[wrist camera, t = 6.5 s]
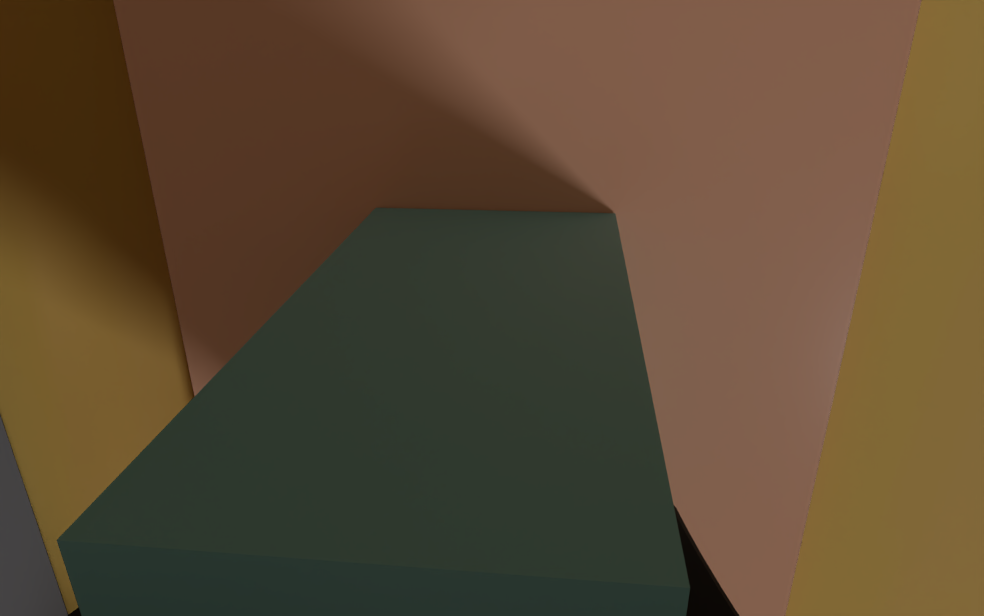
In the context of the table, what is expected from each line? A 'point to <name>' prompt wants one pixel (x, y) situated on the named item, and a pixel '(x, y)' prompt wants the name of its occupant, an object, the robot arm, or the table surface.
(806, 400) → the terracotta tile
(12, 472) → the pocket board
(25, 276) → the table surface
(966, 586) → the table surface
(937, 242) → the table surface
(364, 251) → the teal block
